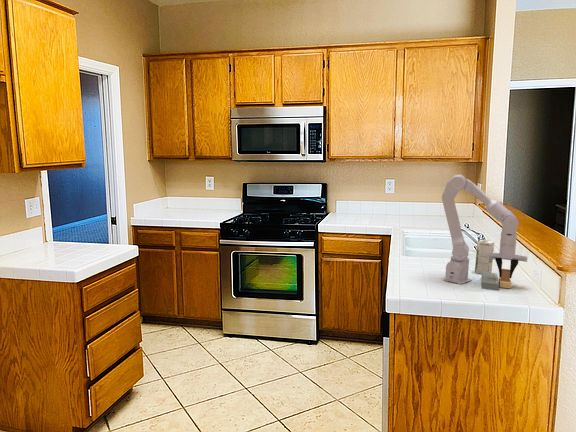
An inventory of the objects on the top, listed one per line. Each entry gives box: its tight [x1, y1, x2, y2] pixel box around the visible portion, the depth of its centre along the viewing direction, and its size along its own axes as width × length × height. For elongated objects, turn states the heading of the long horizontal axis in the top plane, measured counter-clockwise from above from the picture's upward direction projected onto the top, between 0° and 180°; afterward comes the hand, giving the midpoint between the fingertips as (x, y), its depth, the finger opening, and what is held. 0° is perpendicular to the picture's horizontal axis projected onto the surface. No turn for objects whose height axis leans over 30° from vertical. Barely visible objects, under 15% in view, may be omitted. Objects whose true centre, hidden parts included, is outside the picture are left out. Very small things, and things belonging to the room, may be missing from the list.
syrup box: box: [474, 239, 495, 275], centre depth 209 cm, size 6×6×14 cm
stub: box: [498, 268, 512, 289], centre depth 189 cm, size 4×10×6 cm, turn 158°
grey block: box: [481, 272, 500, 291], centre depth 192 cm, size 6×18×3 cm, turn 158°
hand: (505, 277), depth 189 cm, fingers closed on stub, 3 cm apart
